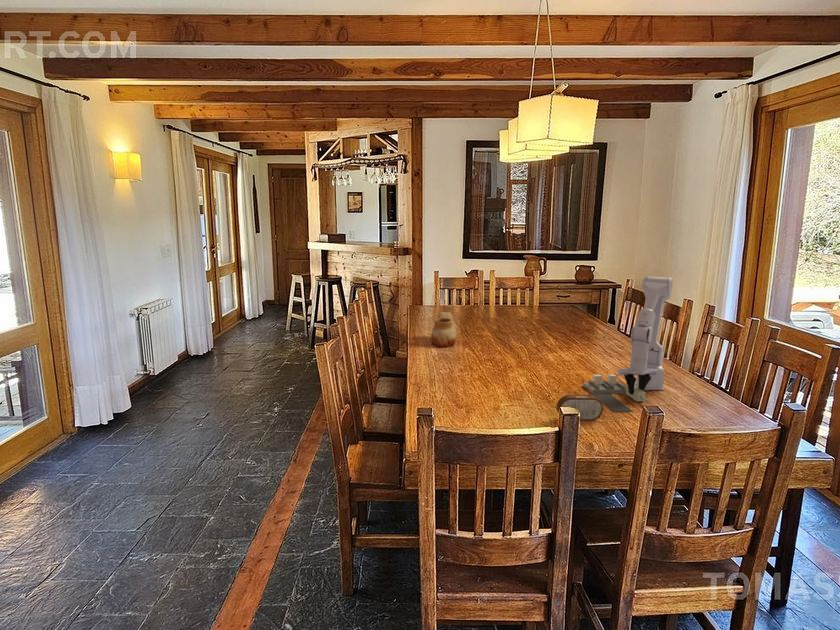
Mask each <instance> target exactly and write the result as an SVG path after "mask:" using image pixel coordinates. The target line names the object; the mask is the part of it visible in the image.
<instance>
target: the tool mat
mask: <svg viewBox="0 0 840 630" xmlns="http://www.w3.org/2000/svg"><path fill="white" fill-rule="evenodd" d="M592 395H594V396H596V397H598V398H599V400H600V401H601V402H602V404H603V405H604V406H606V407H607V408H608V409H609V410H610V411H612V412H613V413H633V412H634V411H633V409H631V408H630V407H628V406H627V405H626V404H625V403H623V402H622V401H621V400H619V399H618V398H616V397H615V396H614V395H613V394H612V393H608V394H592Z"/></svg>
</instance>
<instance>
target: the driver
mask: <svg viewBox="0 0 840 630" xmlns="http://www.w3.org/2000/svg"><path fill="white" fill-rule="evenodd" d="M625 394H626V396H628V397H630V398H631V399H632V400H634V401H636V402H646V403H648V404H649V403H650V402H651V401H650V399H647V398H646V391H645V390H644V391H643V390H641V389H640V388H638V387H636V386H635V385H634V393H633V394H630V393H629V390H628V385H626V393H625Z"/></svg>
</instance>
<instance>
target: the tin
mask: <svg viewBox="0 0 840 630" xmlns="http://www.w3.org/2000/svg"><path fill="white" fill-rule="evenodd" d="M560 407H571V408H575V409H578V410H579V412H580V420H579V421H587V422H589V421H590V422H591V421H595V420H597V419H599V418H600V417H601V416H602V414H603V412H604V404H603V403H602V402H601V401H600V400H599V398H598V397H596V396H594V395H593V394H566V395H562V397H561V398H560V399H559V400H558V401H557V403H556V411H557V413H558V412H559V408H560Z"/></svg>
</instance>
